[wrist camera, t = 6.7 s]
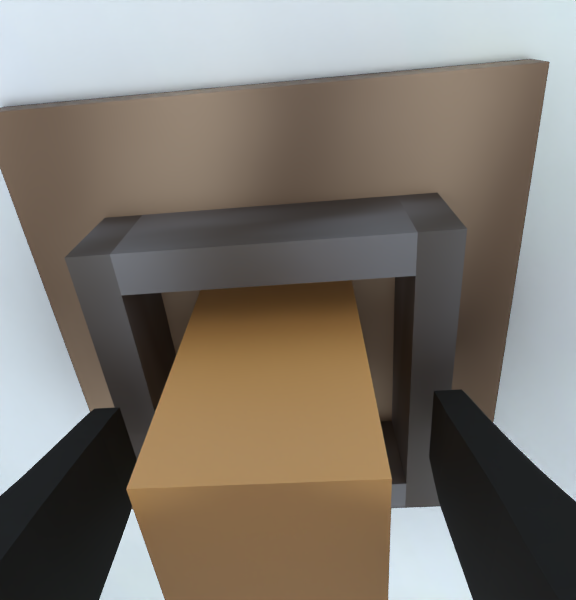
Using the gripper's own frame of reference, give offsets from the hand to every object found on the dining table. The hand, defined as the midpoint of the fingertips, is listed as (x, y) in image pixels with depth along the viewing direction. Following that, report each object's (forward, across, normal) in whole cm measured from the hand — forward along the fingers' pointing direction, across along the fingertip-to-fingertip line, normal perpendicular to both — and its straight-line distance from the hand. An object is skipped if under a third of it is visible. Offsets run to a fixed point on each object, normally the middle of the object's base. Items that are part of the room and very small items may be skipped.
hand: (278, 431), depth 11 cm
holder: (+5, 0, 0) cm, 5 cm away
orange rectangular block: (+4, 0, 0) cm, 4 cm away
